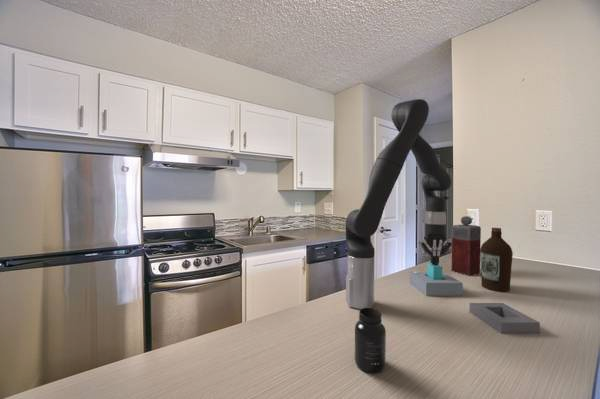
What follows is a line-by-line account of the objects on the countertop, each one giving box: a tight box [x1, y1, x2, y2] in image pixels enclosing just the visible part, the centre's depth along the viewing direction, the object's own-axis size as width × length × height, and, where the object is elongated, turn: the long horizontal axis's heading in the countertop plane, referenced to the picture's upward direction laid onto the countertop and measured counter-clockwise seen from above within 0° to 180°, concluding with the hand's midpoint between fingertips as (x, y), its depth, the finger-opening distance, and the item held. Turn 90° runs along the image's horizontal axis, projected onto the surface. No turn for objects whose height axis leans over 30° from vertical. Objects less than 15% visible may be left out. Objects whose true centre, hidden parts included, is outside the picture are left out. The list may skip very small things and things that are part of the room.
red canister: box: [450, 215, 482, 277], centre depth 128 cm, size 9×11×28 cm
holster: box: [468, 302, 541, 334], centre depth 78 cm, size 11×13×3 cm
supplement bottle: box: [354, 307, 387, 374], centre depth 58 cm, size 7×7×12 cm
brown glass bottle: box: [480, 227, 514, 293], centre depth 106 cm, size 11×11×25 cm
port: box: [409, 271, 464, 297], centre depth 105 cm, size 14×14×5 cm
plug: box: [426, 262, 443, 280], centre depth 105 cm, size 4×5×10 cm
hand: (434, 264), depth 105 cm, fingers closed
